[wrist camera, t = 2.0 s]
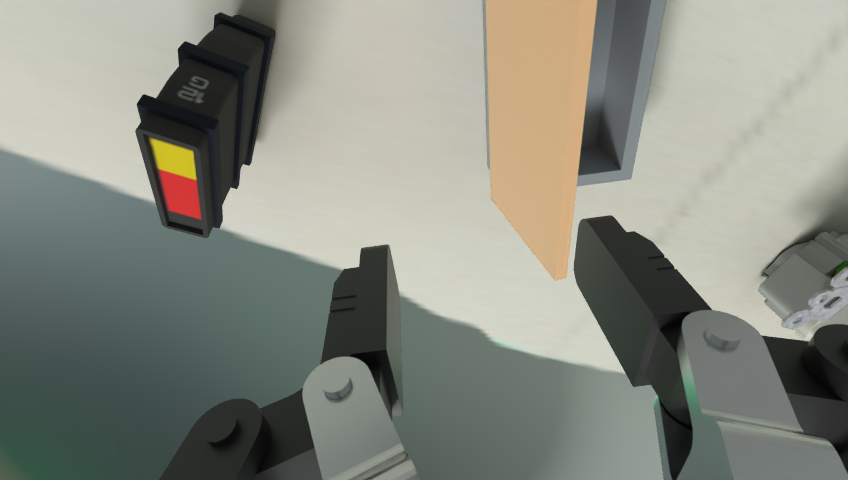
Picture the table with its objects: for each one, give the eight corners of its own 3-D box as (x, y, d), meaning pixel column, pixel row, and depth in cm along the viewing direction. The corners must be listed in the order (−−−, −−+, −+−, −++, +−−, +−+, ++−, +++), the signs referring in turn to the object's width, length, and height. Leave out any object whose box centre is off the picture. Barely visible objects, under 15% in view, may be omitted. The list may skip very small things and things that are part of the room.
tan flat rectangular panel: (495, -159, 22) (481, -158, 22) (623, -235, 13) (601, -233, 13) (499, 196, 35) (490, 198, 35) (566, 277, 26) (554, 280, 26)
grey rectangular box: (478, -141, 27) (497, -159, 22) (646, -165, 27) (703, -189, 22) (487, 165, 40) (500, 196, 35) (601, 150, 40) (631, 179, 35)
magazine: (286, -12, 29) (205, 146, 22) (271, 116, 40) (214, 252, 32) (230, -37, 28) (125, 120, 21) (230, 101, 39) (161, 238, 31)
